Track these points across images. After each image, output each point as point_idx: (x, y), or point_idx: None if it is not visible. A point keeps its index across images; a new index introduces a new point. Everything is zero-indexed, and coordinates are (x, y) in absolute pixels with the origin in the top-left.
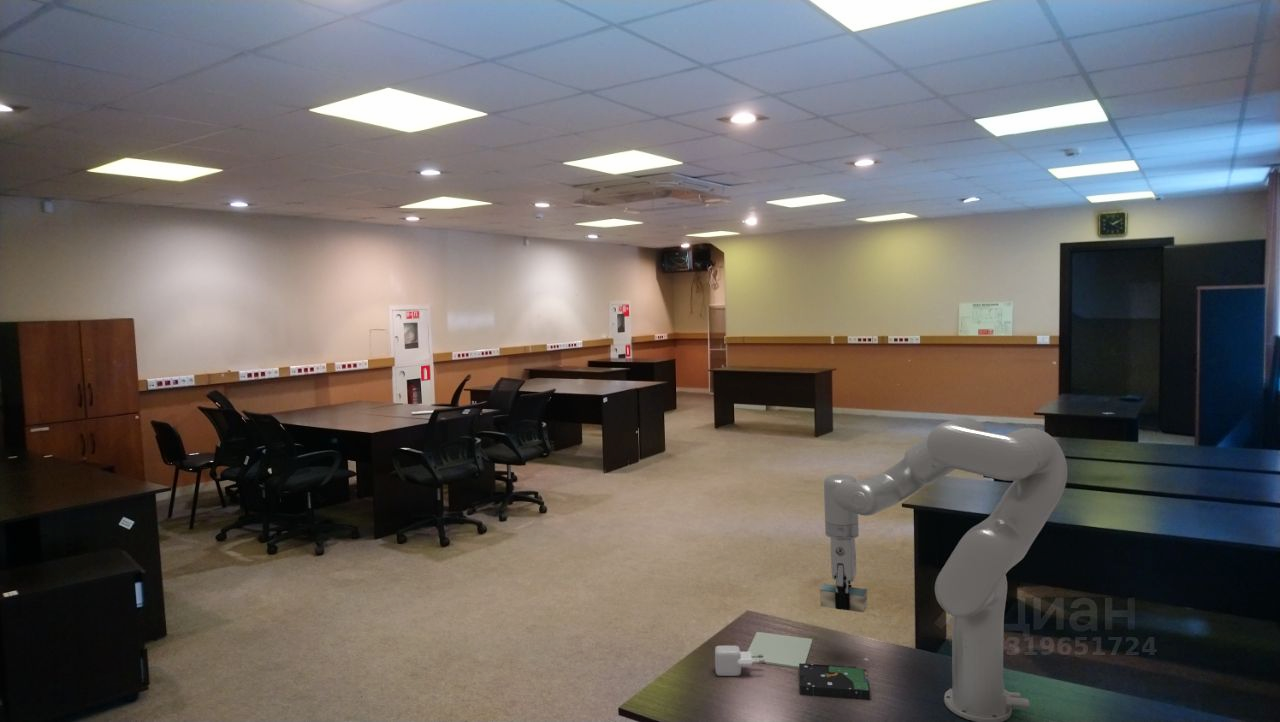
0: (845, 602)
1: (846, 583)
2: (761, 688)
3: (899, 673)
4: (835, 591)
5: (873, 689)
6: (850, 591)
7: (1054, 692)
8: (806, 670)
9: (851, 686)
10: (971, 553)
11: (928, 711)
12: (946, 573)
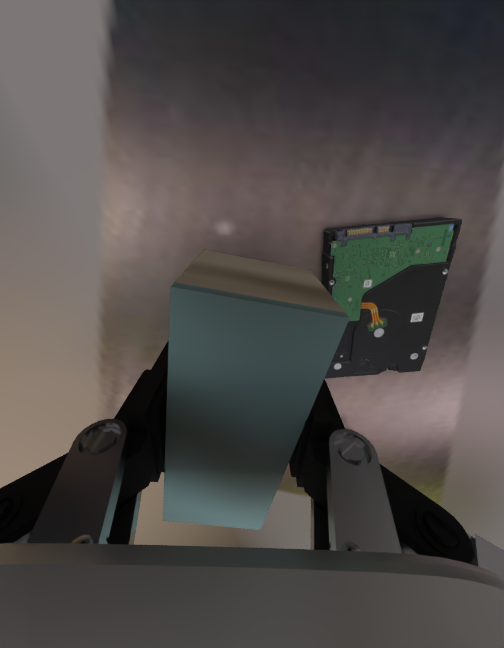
0: (330, 395)
1: (396, 548)
2: (384, 413)
3: (293, 121)
4: (298, 485)
5: (391, 208)
6: (268, 411)
7: None
8: (355, 364)
9: (436, 269)
10: None
11: None
12: None
